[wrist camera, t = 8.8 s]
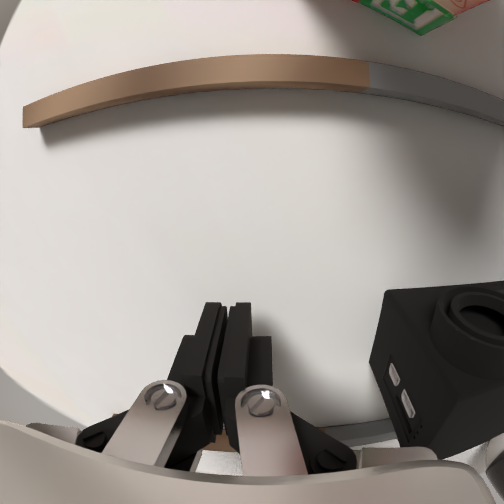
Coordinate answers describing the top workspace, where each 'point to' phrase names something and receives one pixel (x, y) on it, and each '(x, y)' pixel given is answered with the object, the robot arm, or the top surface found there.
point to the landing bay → (437, 94)
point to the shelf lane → (199, 80)
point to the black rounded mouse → (496, 464)
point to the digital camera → (442, 365)
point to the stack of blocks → (421, 11)
